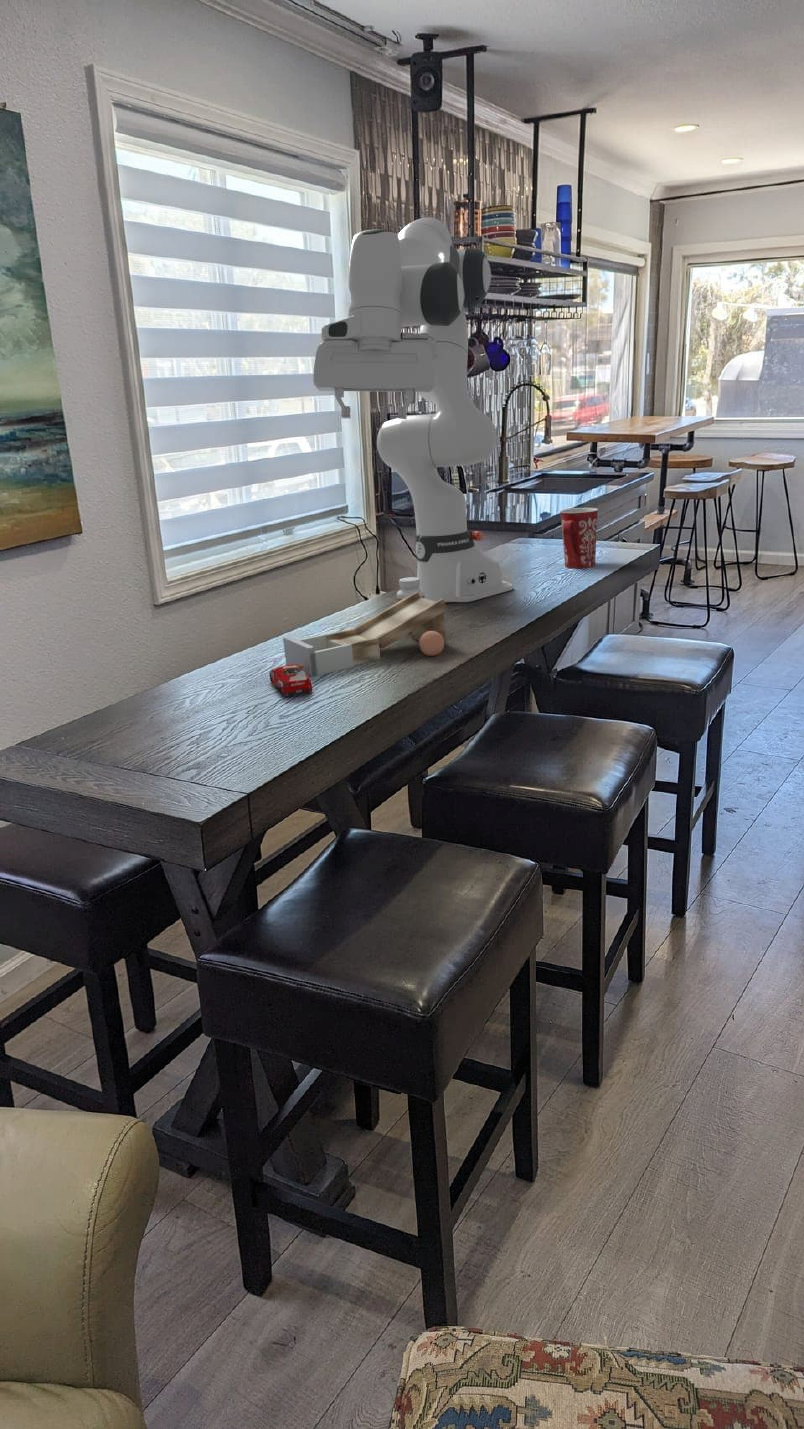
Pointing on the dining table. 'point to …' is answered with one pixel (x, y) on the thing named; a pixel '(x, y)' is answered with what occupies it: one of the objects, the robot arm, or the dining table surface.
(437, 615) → the ramp
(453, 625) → the dining table surface
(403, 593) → the supplement bottle
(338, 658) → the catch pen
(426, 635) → the ball
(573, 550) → the mug
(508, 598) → the dining table surface
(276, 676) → the race car
